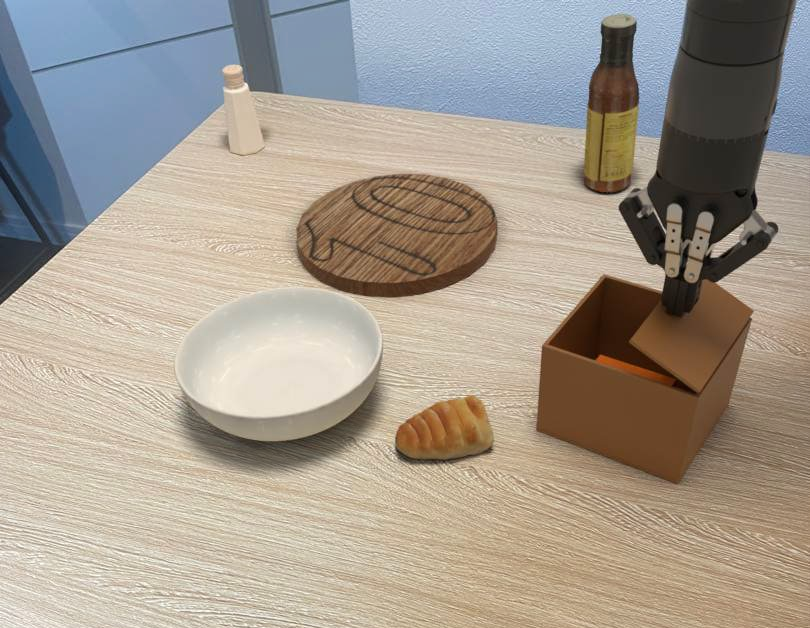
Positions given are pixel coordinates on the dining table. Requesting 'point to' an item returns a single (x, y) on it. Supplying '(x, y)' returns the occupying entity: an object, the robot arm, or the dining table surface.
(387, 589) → the dining table surface
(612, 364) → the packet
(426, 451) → the pastry
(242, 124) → the pepper shaker
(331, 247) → the trivet
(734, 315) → the flap
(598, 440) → the carton
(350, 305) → the serving bowl
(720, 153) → the robot arm
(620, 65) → the sauce bottle
